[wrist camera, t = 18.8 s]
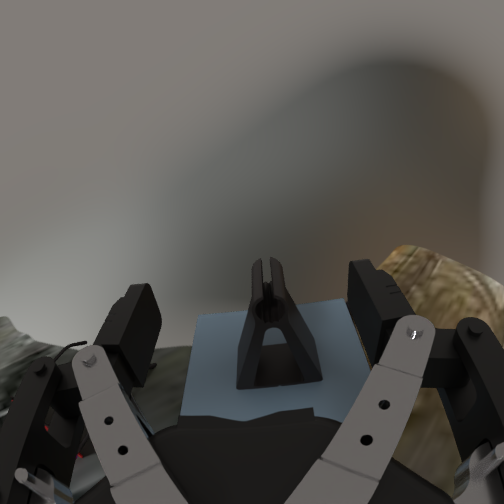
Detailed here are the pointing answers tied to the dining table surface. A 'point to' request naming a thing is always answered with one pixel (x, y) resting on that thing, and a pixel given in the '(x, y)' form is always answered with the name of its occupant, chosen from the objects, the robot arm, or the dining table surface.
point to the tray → (282, 397)
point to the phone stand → (277, 355)
